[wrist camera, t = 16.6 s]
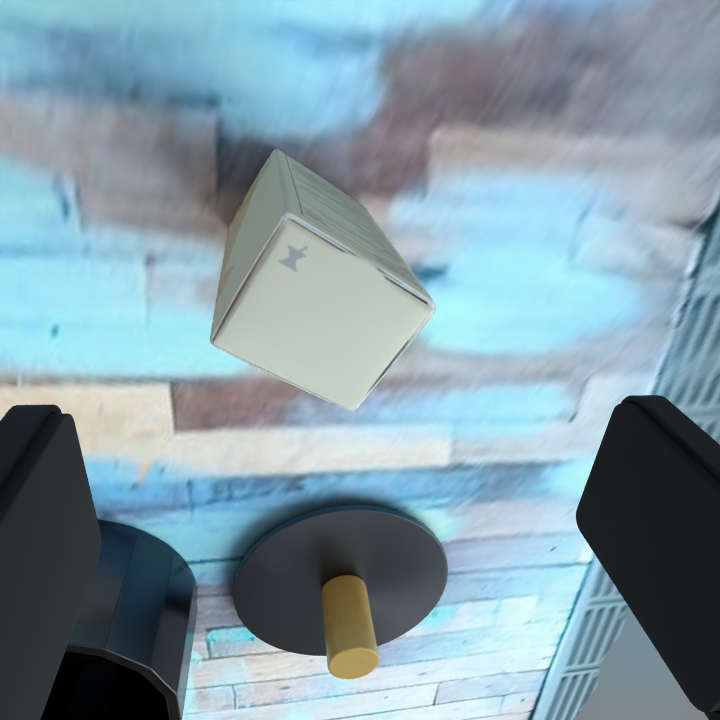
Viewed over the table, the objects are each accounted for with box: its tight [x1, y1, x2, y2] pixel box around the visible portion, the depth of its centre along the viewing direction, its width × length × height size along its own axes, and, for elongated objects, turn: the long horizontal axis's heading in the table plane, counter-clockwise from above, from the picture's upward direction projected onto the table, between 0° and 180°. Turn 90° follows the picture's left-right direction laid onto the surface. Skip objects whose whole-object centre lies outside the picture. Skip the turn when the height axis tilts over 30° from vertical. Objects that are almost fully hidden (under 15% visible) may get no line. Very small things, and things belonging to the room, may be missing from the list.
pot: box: [40, 520, 198, 720], centre depth 30 cm, size 13×19×8 cm
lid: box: [234, 505, 448, 679], centre depth 33 cm, size 14×14×6 cm
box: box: [210, 149, 436, 412], centre depth 19 cm, size 5×4×11 cm
